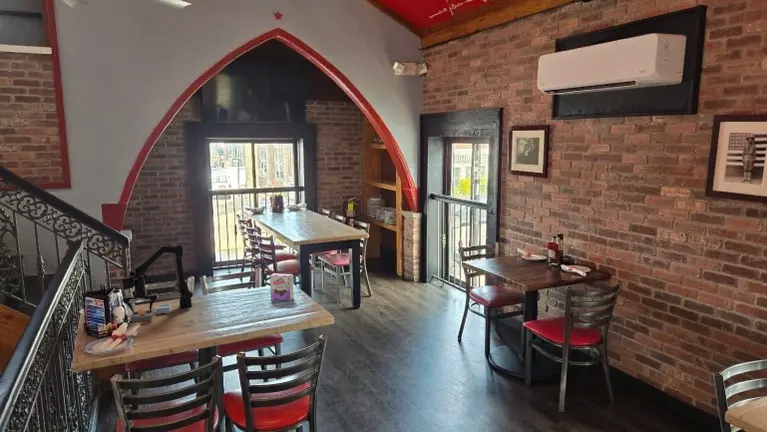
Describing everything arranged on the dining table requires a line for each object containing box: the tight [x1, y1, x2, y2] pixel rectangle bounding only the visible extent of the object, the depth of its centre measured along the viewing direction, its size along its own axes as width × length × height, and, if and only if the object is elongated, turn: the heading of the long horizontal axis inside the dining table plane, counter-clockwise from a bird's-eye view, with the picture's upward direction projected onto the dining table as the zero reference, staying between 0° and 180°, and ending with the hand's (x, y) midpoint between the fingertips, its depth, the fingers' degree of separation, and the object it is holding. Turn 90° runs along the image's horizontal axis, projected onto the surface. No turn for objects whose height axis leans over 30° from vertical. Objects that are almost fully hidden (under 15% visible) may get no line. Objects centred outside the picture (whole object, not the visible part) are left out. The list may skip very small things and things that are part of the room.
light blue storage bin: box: [156, 303, 172, 315], centre depth 320 cm, size 7×7×4 cm
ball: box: [138, 308, 146, 316], centre depth 311 cm, size 4×4×4 cm
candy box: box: [269, 272, 295, 302], centre depth 339 cm, size 14×6×16 cm, turn 73°
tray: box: [129, 309, 156, 322], centre depth 311 cm, size 12×12×2 cm
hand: (142, 312), depth 311 cm, fingers open, 9 cm apart
